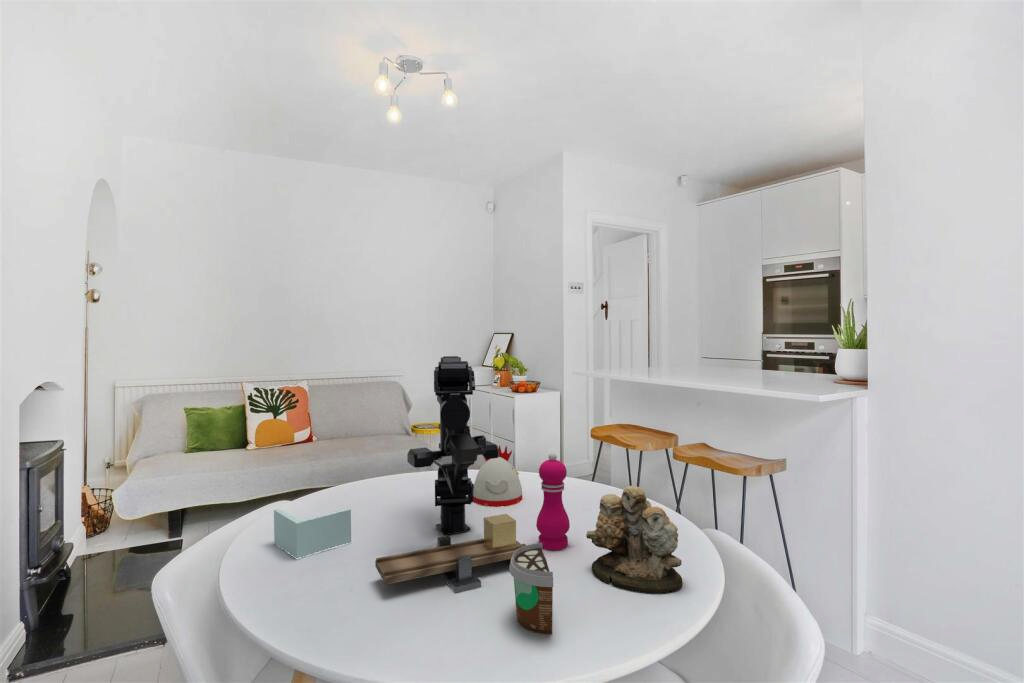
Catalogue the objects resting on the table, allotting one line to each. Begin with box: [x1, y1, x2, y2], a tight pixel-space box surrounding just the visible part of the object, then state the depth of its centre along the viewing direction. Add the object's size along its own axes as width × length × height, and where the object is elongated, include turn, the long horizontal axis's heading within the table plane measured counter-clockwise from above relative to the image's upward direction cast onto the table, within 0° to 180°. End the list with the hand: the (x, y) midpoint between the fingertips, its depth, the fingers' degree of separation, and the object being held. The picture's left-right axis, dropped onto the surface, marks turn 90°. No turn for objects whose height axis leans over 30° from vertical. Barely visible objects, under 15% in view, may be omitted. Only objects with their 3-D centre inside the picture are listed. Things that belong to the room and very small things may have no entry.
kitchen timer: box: [472, 445, 523, 508], centre depth 148 cm, size 14×14×15 cm
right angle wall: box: [273, 508, 352, 558], centre depth 118 cm, size 12×12×8 cm
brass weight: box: [483, 513, 517, 550], centre depth 106 cm, size 5×4×6 cm
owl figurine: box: [585, 485, 684, 595], centre depth 100 cm, size 18×12×17 cm, turn 63°
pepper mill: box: [535, 452, 571, 551], centre depth 116 cm, size 7×7×20 cm
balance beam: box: [374, 538, 527, 585], centre depth 102 cm, size 28×8×2 cm, turn 117°
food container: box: [508, 542, 554, 635], centre depth 86 cm, size 12×6×10 cm, turn 5°
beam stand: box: [436, 535, 511, 594], centre depth 105 cm, size 16×15×5 cm
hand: (454, 494), depth 113 cm, fingers closed
